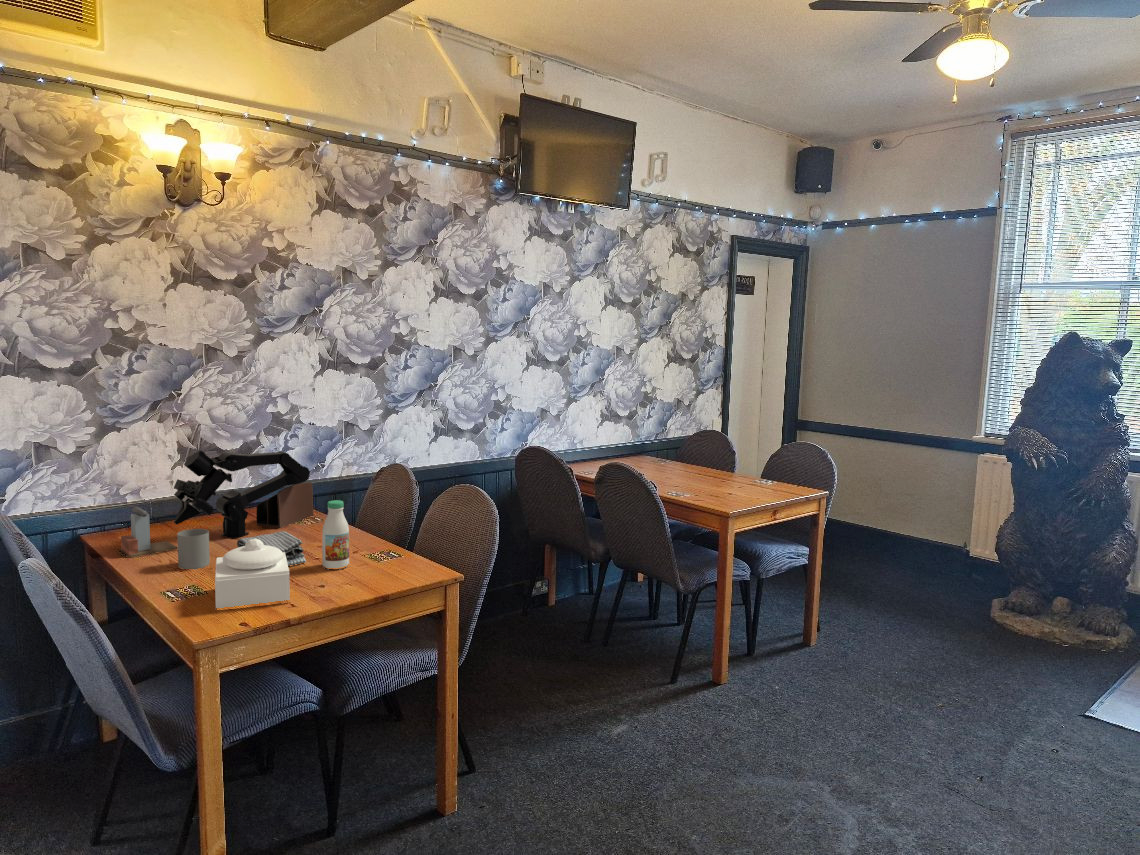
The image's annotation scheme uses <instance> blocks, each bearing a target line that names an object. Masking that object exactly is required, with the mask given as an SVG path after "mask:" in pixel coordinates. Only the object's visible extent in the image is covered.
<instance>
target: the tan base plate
mask: <svg viewBox="0 0 1140 855" xmlns="http://www.w3.org/2000/svg"><path fill="white" fill-rule="evenodd" d="M120 543H121V548H120V552H121V553H123V554H124V555H125V554H126V556H127V555H128V556H129V557H128V556H127V557H128V558H130V557H133V558H136V557H135V556H138V557H141V556H140V555H144V556H147V555H146V554H149V555H152V554H151V553H155V554H157V553H156V552H161V553H163V552H162V551H166V552H168V551H167V550H172V551H176V550H175V549H177V550H178V546H177V545H175V544H173V543H171V542H169V540H166V541H165V540H164V541H158V542H152V543H150V548H151V549H149V550H143V551H138V540H137V539H136V538H134V537H133V536H132V535H131V534H127V535H121V536H120Z"/></svg>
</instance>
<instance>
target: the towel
mask: <svg viewBox="0 0 1140 855" xmlns="http://www.w3.org/2000/svg"><path fill="white" fill-rule="evenodd" d="M250 539H259V540H261V541H262V542H263V544H264V545H268V546H273V547H276V548H278V549H280V550H281V551H282V552H285V555H286V559H287V563H288V566H290V565H295V564H300V563H305V562H306V563H307V560H306V558H305V554H304V553H303V552H304V549H303V547H302V546H301V545H302V544H303V543H304V542H303V541H301V539H300V538H297V537H296V536H294V535H292V534H290V533H289V532H287V531H285V530H284V531H282V530H281V531H277V532H273V533H269V534H268V533H267V534H260V535H256V536H250V537H243V538H242V537H241V538H239V539H238V540H237V542H236V546H237V548H239V547H243V546H245V544H246V543H247V542H248V541H249V540H250Z"/></svg>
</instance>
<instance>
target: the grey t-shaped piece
mask: <svg viewBox="0 0 1140 855" xmlns="http://www.w3.org/2000/svg"><path fill="white" fill-rule="evenodd" d="M131 511H132V512H134V513H131V514H130V530H131V531H130V532H131V534H130V535H131V536H133V537H134V538H136V539H137V540H138V551H143V550H149V549H151V548H150V544H151V531H150V530H151V528H150V523H151V522H150V514H149V513H148V512H147V511H146V510H144V509H142V508H140V507H138V506H136V505H135V506H133V507H132V509H131Z"/></svg>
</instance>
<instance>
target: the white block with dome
mask: <svg viewBox="0 0 1140 855" xmlns="http://www.w3.org/2000/svg"><path fill="white" fill-rule="evenodd" d="M214 573H215V574H214V575H215V576H214V577H215V578H214V584H215V585H214V589H215V590H214V591H215V592H214V593H215V609H216V608H224V607H234V606H242V605H250V604H259V603H268V602H275V601H284V600H285V601H286V600H290V601H291V596H290V595H291V593H290V588H291V587H290V585H291V584H290V583H291V582H290V568H289V567H288V563H287V559H286V555H285V552H282V551H281V550H280V549H278V548H276V547H273V546H268V545H264V544H263V542H262V541H261V540H259V539H250V540H249V541H248V542H247V543H246V544H245V546H243V547H239V548H238V547H236V548H233V549H231V550H229V551H228V552H226V553H225V554H224V555H223V556H222V557H220V556H219V557H216V561H215V572H214Z"/></svg>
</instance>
